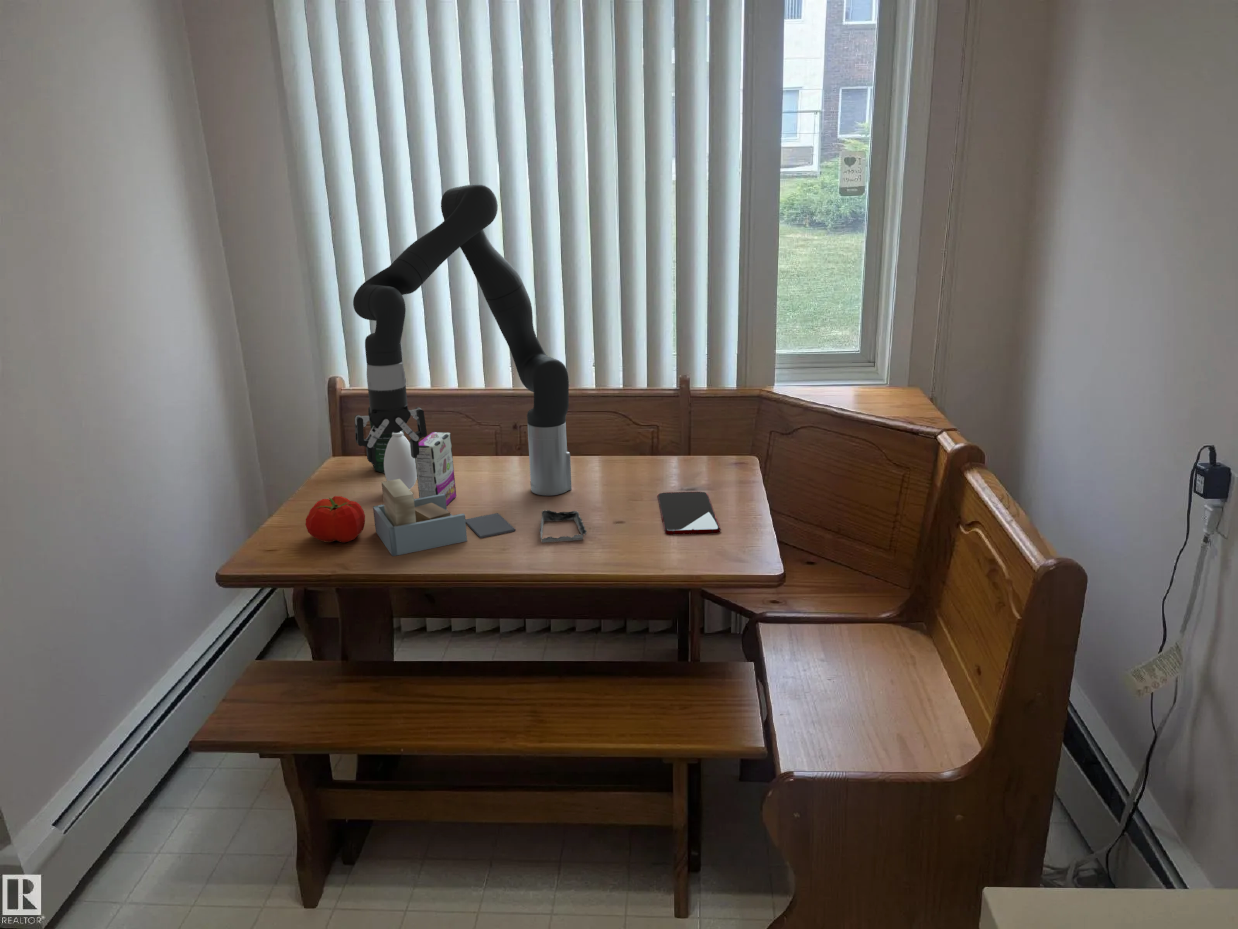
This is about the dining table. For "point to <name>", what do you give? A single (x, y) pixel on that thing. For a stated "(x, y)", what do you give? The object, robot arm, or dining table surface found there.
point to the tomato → (335, 520)
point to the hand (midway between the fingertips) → (393, 460)
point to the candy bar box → (436, 466)
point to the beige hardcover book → (398, 503)
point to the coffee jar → (380, 449)
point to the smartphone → (687, 513)
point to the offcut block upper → (430, 512)
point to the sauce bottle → (400, 461)
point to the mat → (489, 525)
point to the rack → (420, 529)
